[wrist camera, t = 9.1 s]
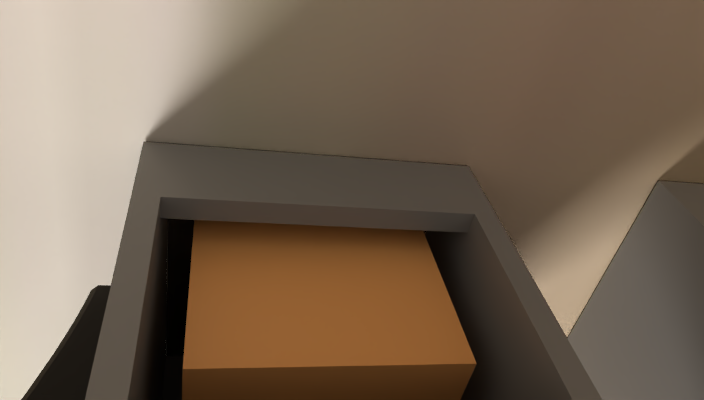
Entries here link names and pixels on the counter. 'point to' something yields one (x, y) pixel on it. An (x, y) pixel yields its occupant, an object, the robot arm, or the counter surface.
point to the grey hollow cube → (650, 305)
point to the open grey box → (342, 211)
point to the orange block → (319, 316)
